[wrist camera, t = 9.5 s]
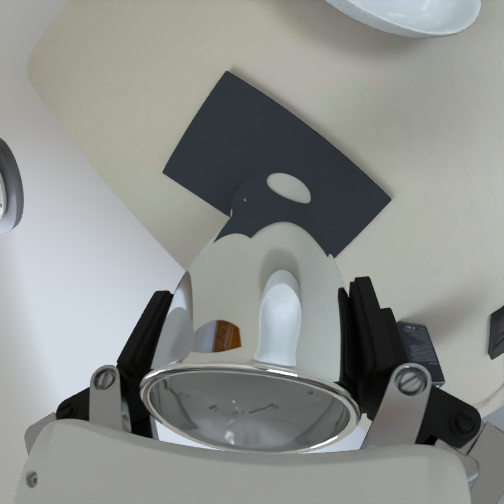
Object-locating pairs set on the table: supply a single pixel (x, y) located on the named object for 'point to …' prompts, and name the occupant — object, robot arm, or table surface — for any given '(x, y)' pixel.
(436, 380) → the box
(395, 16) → the cereal bowl
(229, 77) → the placemat
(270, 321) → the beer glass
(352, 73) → the table surface
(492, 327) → the picture frame
